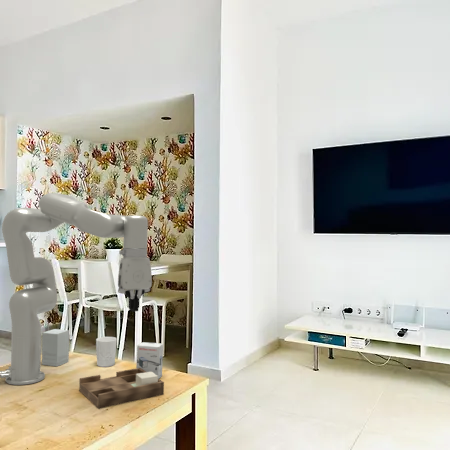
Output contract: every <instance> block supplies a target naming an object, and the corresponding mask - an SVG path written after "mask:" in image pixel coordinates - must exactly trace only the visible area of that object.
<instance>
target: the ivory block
mask: <svg viewBox="0 0 450 450" xmlns="http://www.w3.org/2000/svg"><path fill="white" fill-rule="evenodd" d="M156 382H158V376H157V375H156V374H154V373H153V372H145V373H138V374H136V385H137V386H141V385H146V384H151V383H156Z"/></svg>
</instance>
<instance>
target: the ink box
mask: <svg viewBox="0 0 450 450" xmlns="http://www.w3.org/2000/svg"><path fill="white" fill-rule="evenodd" d="M136 347H137V348H136V367H135V369H136V368H141V369H143V370H144V371H146V372H153V373H154V374H156V375H157V376H158V379H160V378H162V377H163V359H164V355H163V353H164V351H163V350H164V344H163V343H158V342H140V343H139V344H137V345H136Z"/></svg>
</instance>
